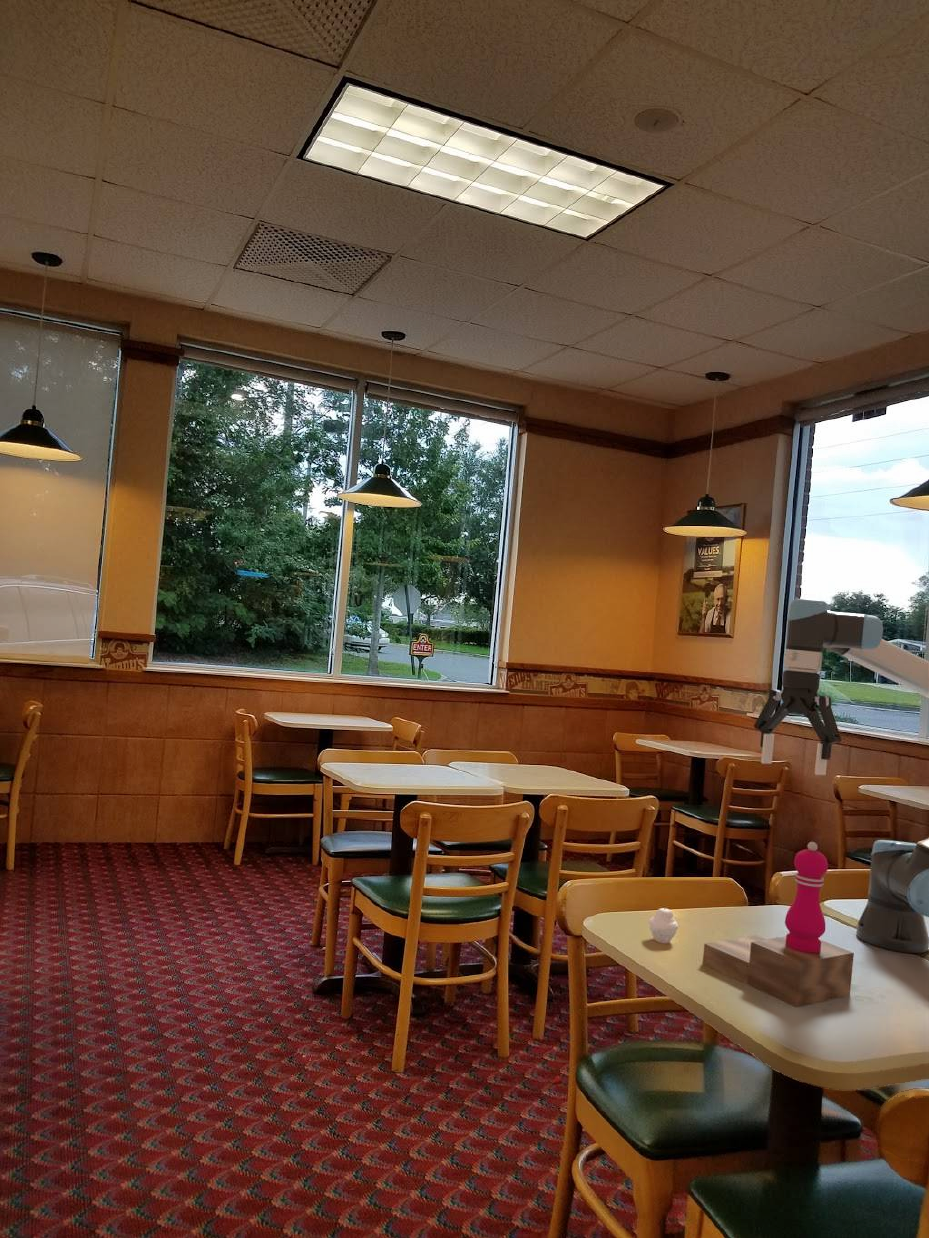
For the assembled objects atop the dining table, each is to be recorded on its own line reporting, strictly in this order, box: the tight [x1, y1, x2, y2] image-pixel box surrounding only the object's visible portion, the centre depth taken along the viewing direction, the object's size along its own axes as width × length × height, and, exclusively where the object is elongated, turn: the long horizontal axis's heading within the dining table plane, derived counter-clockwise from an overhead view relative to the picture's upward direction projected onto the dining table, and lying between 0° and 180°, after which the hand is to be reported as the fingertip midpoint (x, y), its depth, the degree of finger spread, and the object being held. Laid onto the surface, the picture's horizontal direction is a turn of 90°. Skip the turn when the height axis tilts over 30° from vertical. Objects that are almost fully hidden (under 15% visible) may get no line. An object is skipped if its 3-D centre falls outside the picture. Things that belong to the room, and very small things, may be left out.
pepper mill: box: [784, 841, 829, 953], centre depth 174 cm, size 7×7×20 cm
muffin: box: [648, 907, 679, 944], centre depth 195 cm, size 6×6×7 cm
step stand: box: [702, 935, 855, 1008], centre depth 178 cm, size 16×22×8 cm
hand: (792, 769), depth 197 cm, fingers open, 13 cm apart
